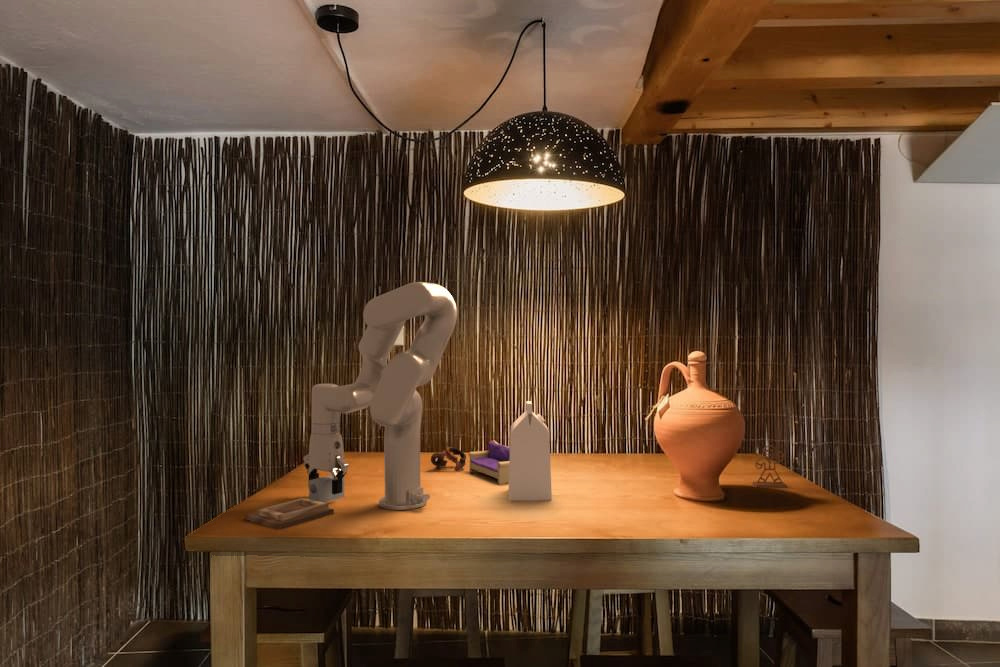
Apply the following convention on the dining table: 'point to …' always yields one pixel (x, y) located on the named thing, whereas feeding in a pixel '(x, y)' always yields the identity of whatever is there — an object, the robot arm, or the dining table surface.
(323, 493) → the grey rectangular block
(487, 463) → the toy sofa
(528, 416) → the milk
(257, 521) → the jig
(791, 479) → the dining table surface
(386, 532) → the dining table surface
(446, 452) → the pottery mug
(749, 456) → the dining table surface
